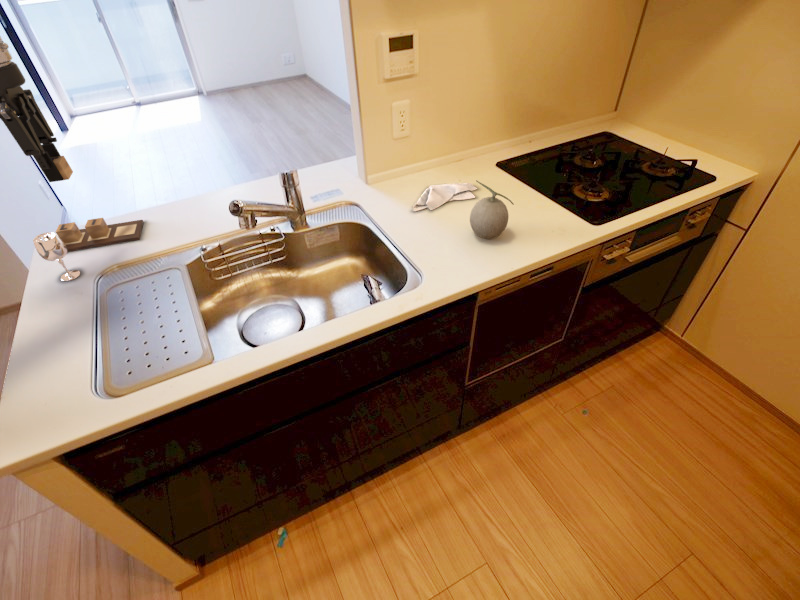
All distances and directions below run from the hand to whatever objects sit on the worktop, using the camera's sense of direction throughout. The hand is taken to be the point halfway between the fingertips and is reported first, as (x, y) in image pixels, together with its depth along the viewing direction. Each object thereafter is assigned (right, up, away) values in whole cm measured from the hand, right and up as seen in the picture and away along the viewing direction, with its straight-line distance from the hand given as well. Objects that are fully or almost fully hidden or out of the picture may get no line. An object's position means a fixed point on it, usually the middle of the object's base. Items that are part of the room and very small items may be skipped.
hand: (59, 175), depth 99 cm
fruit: (+105, -10, +25) cm, 108 cm away
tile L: (-15, -11, +24) cm, 31 cm away
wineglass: (-7, -23, +13) cm, 27 cm away
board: (-9, -10, +26) cm, 29 cm away
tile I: (-8, -10, +26) cm, 29 cm away
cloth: (+93, +6, +42) cm, 103 cm away
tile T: (0, 0, 0) cm, 0 cm away
